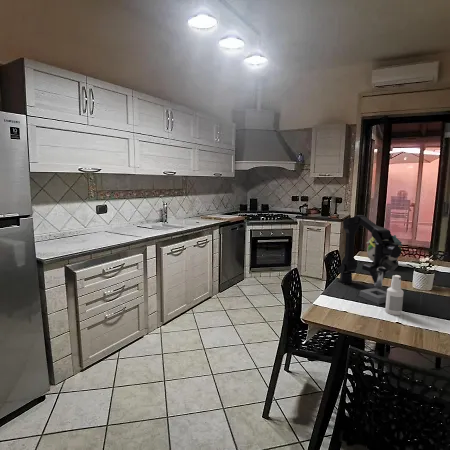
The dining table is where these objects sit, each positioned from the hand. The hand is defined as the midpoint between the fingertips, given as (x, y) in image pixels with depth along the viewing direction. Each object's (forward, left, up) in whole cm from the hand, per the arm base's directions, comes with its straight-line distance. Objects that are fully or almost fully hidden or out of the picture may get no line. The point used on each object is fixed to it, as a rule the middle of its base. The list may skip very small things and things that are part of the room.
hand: (378, 282), depth 164 cm
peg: (0, 0, -2) cm, 2 cm away
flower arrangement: (-45, +59, -9) cm, 75 cm away
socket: (0, 0, -9) cm, 9 cm away
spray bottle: (+16, -8, -9) cm, 20 cm away
